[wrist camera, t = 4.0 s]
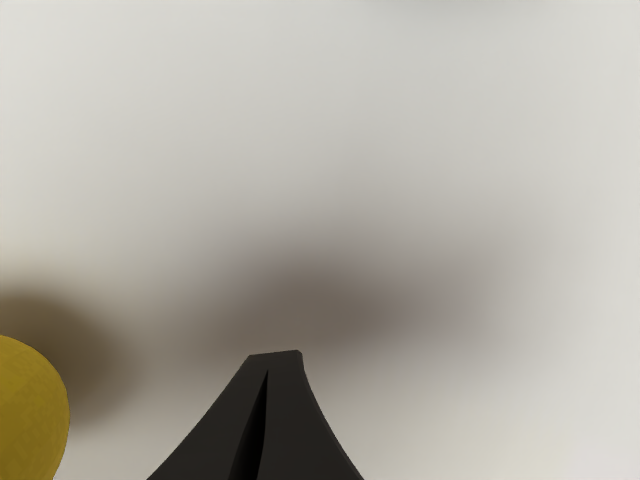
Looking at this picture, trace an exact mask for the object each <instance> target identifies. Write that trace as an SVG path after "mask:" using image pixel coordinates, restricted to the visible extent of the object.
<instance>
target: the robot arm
mask: <svg viewBox="0 0 640 480" xmlns="http://www.w3.org/2000/svg"><path fill="white" fill-rule="evenodd" d="M146 480H364V479H363V477H362V476H361V474H360V473H359V472H358V470H357V469H356V467H355V466H354V465H353V463H352V462H351V460H350V459H349V457H348V456H347V454H346V453H345V451H344V450H343V448H342V446H341V445H340V443H339V442H338V440H337V438H336V437H335V435H334V433H333V432H332V430H331V428H330V426H329V424H328V423H327V421H326V419H325V417H324V415H323V413H322V411H321V409H320V407H319V405H318V403H317V401H316V399H315V397H314V394H313V392H312V390H311V388H310V385H309V383H308V380H307V377H306V374H305V371H304V365H303V358H302V353H301V352H299V351H298V350H291V351H283V352H274V353H265V354H256V355H249V356H248V358H247V359H246V360H245V361H244V363H243V364H242V366H241V367H240V368H239V370H238V371H237V373H236V374H235V375H234V377H233V378H232V380H231V381H230V382H229V384H228V385H227V386H226V388H225V389H224V390H223V392H222V393H221V394H220V396H219V397H218V398H217V400H216V401H215V402H214V403H213V405H212V406H211V407H210V409H209V410H208V411H207V412H206V414H205V415H204V416H203V417H202V419H201V420H200V421H199V422H198V423H197V425H196V426H195V427H194V428H193V429H192V430H191V432H190V433H189V434H188V435H187V436H186V437H185V439H184V440H183V441H182V442H181V443H180V445H179V446H178V447H177V448H176V449H175V450H174V451H173V452H172V454H171V455H170V456H169V457H168V458H167V459H166V460H165V461H164V462H163V463H162V464H161V465H160V466H159V467H158V469H157V470H156V471H155V472H154V473H153V474H152V475H151V476H150V477H148V478H147V479H146Z"/></svg>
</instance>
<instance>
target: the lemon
mask: <svg viewBox="0 0 640 480" xmlns="http://www.w3.org/2000/svg"><path fill="white" fill-rule="evenodd" d="M69 424H70V409H69V403H68V397H67V391H66V388H65V386H64V384H63V382H62V380H61V377H60V375H59V374H58V372H57V370H56V369H55V368H54V367H53V366H52V364H51V363H50V362H49V361H48V360H47V358H45V357H44V356H43V355H41V354H40V353H39V352H38V351H36V350H35V349H34V348H32V347H30V346H28V345H26V344H24V343H22V342H20V341H18V340H16V339H13V338H10V337H6V336H3V335H0V480H52V479H53V477H54V475H55V473H56V471H57V469H58V467H59V464H60V462H61V459H62V457H63V454H64V450H65V446H66V442H67V436H68V430H69Z"/></svg>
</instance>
